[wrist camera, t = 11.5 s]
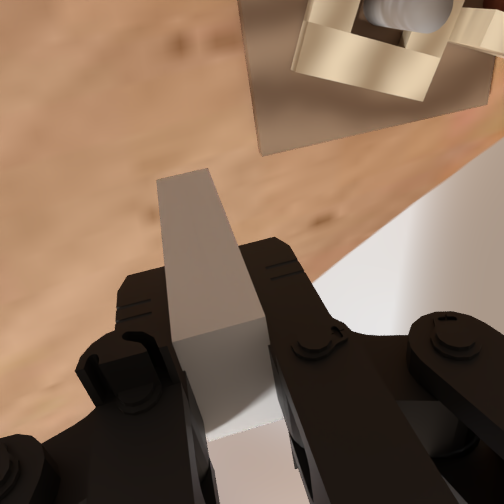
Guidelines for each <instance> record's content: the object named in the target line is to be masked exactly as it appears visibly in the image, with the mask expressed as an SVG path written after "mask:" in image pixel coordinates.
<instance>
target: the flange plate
mask: <svg viewBox="0 0 504 504" xmlns="http://www.w3.org/2000/svg"><path fill="white" fill-rule="evenodd" d="M464 1H465V0H454V1H453V8H452V11H451V14H450V16H449V18H448V20H447V21H446V23H445V24H444V25H443V26H442V27H441V28H440V29H438V30H437V31H435V32H432V33H428V34H426V33H419V32H413V31H406V30H403V33H402V36H401V39H400V41H399V44H398V46H395V45H391V44H388V43H384V42H381V41H377V40H373V39H370V38H366V37H362V36H359V35H355V34H352V33H351V29H352V26H353V23H354V20H355V17H356V13H357V10H358V7H359V4H360V0H308V4H307V8H306V12H305V15H304V19H303V23H302V27H301V31H300V35H299V39H298V43H297V47H296V50H295V54H294V58H293V62H292V66H291V70H292V71H294V72H297V73H302V74H306V75H310V76H314V77H319V78H323V79H327V80H332V81H336V82H340V83H345V84H349V85H353V86H357V87H362V88H366V89H370V90H375V91H379V92H383V93H387V94H392V95H396V96H400V97H405V98H409V99H413V100H418V101H422V102H423V100H424V98H425V95H426V93H427V91H428V88H429V86H430V83H431V81H432V78H433V76H434V74H435V71H436V69H437V66H438V64H439V62H440V59H441V57H442V54H443V52H444V49H445V47H446V45H447V42H450V43H453V44H457V45H460V46H463V47H467V48H470V49H474V50H477V51H480V52H484V53H487V54H491V55H494V56H497V57H501V58H504V12H502V11H499V10H497V9H481V8H465V7H462V6H463V4H464Z"/></svg>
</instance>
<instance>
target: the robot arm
mask: <svg viewBox="0 0 504 504" xmlns="http://www.w3.org/2000/svg"><path fill="white" fill-rule="evenodd" d="M156 181H157V192H158V202H159V212H160V223H161V233H162V243H163V254H164V264H165V266H163V267H160V268H156V269H152V270H148V271H144V272H140V273H136V274H132V275H128V276H127V277H126V279H125V280H124V282H123V284H122V285H121V287H120V288H119V290H118V292H117V306H116V308H117V311H116V324H115V331H112V332H110V333H107V334H105V335H104V336H102V337H101V338H100V339H98V340H97V341H95V342H94V343H92V344H91V345H90V347H89V348H88V349H87V350H86V351H85V352H84V354H83V355H82V356H81V357H80V359H79V362H78V364H77V367H76V369H75V372H76V374H77V376H78V377H79V379H80V381H81V383H82V384H83V386H84V388H85V389H86V391H87V393H88V395H89V396H90V398H91V400H92V401H93V403H94V405H95V406H96V408H95V409H94V410H93V411H92V412H91V413H90V414H89V415H88V416H86V417H85V418H84V419H82V420H81V421H79V422H78V423H76V424H75V425H73V426H72V427H70V428H68V429H66V430H65V431H63V432H61V433H59V434H58V435H56V436H54V437H52V438H51V439H49V440H47V441H45V442H44V443H42V444H41V443H40V442H39V441H37V440H36V439H35V438H34V437H33V436H29V435H21V434H15V435H11V436H7V437H3V438H0V504H220V502H219V496H218V490H217V484H216V478H215V471H214V469H213V466H212V463H211V461H210V458H209V454H208V448H207V442H206V437H207V439H208V441H212V440H216V439H219V438H222V437H225V436H229V435H232V434H235V433H239V432H242V431H245V430H249V429H252V428H255V427H259V426H262V425H265V424H268V423H272V422H275V421H278V420H282V419H283V416H284V419H285V422H286V425H287V428H288V431H289V437H290V443H291V448H292V455H293V460H294V466H295V469H297V468H298V469H299V472H300V475H301V478H302V481H303V484H304V487H305V490H306V493H307V496H308V499H309V502H310V504H504V335H503V334H501V333H500V332H498V331H497V330H495V329H494V328H492V327H491V326H489V325H487V324H486V323H484V322H482V321H480V320H478V319H476V318H474V317H472V316H469V315H466V314H461V313H457V312H451V311H449V312H434V313H430V314H427V315H424V316H421V317H420V318H419V319H418V320H417V321H415V322H414V323H413V324H412V325H411V328H410V331H409V334H408V335H394V336H391V335H390V336H375V335H365V334H360V333H356V332H353V331H351V330H350V329H349V328H348V327H347V326H346V325H345V324H344V323H342V322H340V321H338V320H336V319H334V318H332V316H331V315H330V314H329V312H328V310H327V309H326V307H325V305H324V304H323V302H322V300H321V298H320V297H319V295H318V293H317V292H316V290H315V288H314V287H313V285H312V283H311V281H310V280H309V278H308V276H307V275H306V273H304V269H303V268H302V266H301V264H300V263H299V261H298V260H297V258H296V256H295V254H294V252H293V251H292V249H291V247H290V246H289V245H287V244H286V243H284V242H283V241H281V240H279V239H278V238H276V237H272V238H268V239H264V240H260V241H256V242H252V243H248V244H244V245H240V246H238V244H237V242H236V239H235V237H234V234H233V232H232V229H231V226H230V224H229V221H228V219H227V216H226V213H225V211H224V208H223V206H222V203H221V201H220V198H219V195H218V193H217V190H216V188H215V185H214V182H213V180H212V177H211V175H210V172H209V170H208V168H205V169H201V170H197V171H192V172H188V173H184V174H179V175H175V176H171V177H166V178H162V179H158V180H156Z"/></svg>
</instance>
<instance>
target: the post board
mask: <svg viewBox="0 0 504 504" xmlns="http://www.w3.org/2000/svg"><path fill="white" fill-rule="evenodd" d="M453 1H454V0H360V4H359V7H358V10H357V13H356V17H355V20H354V23H353V26H352V29H351V33H352V34H355V35H359V36H362V37H366V38H370V39H373V40H377V41H381V42H384V43H388V44H391V45H395V46H398V44H399V41H400V39H401V36H402V33H403V30H406V31H413V32H419V33H426V34H428V33H432V32H435V31H437V30H438V29H440V28H441V27H442V26H443V25H444V24H445V23H446V21H447V20H448V18H449V16H450V14H451V11H452V8H453ZM237 2H238V9H239V16H240V23H241V30H242V36H243V43H244V50H245V57H246V64H247V71H248V78H249V85H250V92H251V99H252V106H253V113H254V120H255V127H256V134H257V141H258V147H259V153H260V154H261V155H262V157H263V156H267V155H272V154H276V153H280V152H285V151H289V150H293V149H298V148H302V147H306V146H311V145H315V144H319V143H324V142H328V141H332V140H337V139H341V138H345V137H350V136H354V135H358V134H363V133H367V132H371V131H376V130H380V129H384V128H389V127H393V126H397V125H402V124H406V123H410V122H415V121H419V120H423V119H428V118H432V117H436V116H441V115H445V114H449V113H454V112H458V111H462V110H467V109H471V108H475V107H480V106H484V105H487V104H488V98H489V92H490V86H491V80H492V74H493V68H494V62H495V56H494V55H491V54H487V53H484V52H480V51H477V50H474V49H470V48H467V47H463V46H460V45H457V44H453V43H450V42H447V45H446V47H445V49H444V52H443V54H442V57H441V59H440V62H439V64H438V66H437V69H436V71H435V74H434V76H433V78H432V81H431V83H430V86H429V88H428V91H427V93H426V95H425V98H424V100H423V102H422V101H418V100H413V99H409V98H405V97H400V96H396V95H392V94H387V93H383V92H379V91H375V90H370V89H366V88H362V87H357V86H353V85H349V84H345V83H340V82H336V81H332V80H327V79H323V78H319V77H314V76H310V75H306V74H302V73H297V72H294V71H292V70H291V66H292V62H293V58H294V54H295V50H296V47H297V43H298V39H299V35H300V31H301V27H302V23H303V19H304V15H305V12H306V8H307V4H308V0H237ZM462 7H465V8H481V9H497V10H499V11H502V12H504V0H465V1H464V4H463V6H462Z"/></svg>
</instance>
